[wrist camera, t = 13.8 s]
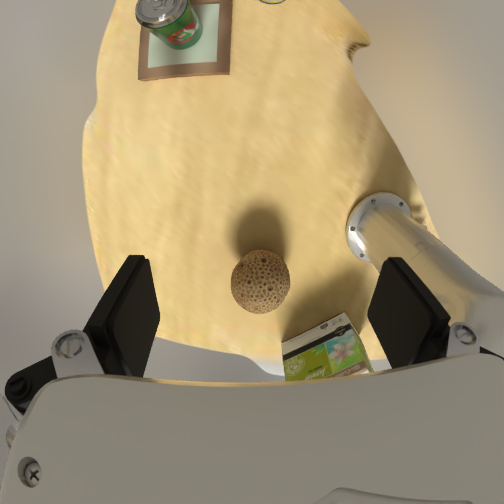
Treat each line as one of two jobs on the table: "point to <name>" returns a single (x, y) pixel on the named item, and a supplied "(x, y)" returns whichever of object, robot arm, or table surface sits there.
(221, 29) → the walnut picture frame
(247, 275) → the natural sponge
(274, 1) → the supplement bottle
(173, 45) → the soda can
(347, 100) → the table surface
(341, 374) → the tea box
